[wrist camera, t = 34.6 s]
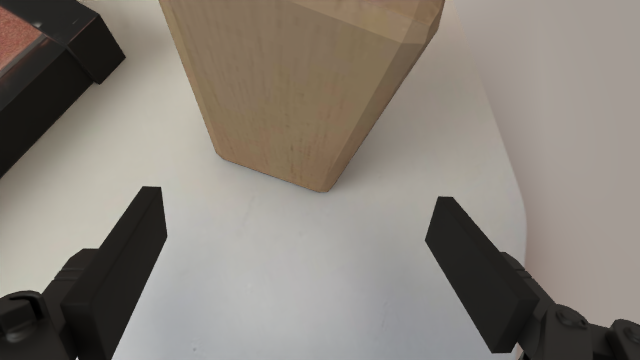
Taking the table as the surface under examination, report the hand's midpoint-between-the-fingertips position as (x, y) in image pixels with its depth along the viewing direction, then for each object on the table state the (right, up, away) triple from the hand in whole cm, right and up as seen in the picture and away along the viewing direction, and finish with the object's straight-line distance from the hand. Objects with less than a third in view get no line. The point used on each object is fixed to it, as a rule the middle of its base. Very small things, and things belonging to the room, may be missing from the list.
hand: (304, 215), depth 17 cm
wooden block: (-2, +6, +14) cm, 15 cm away
